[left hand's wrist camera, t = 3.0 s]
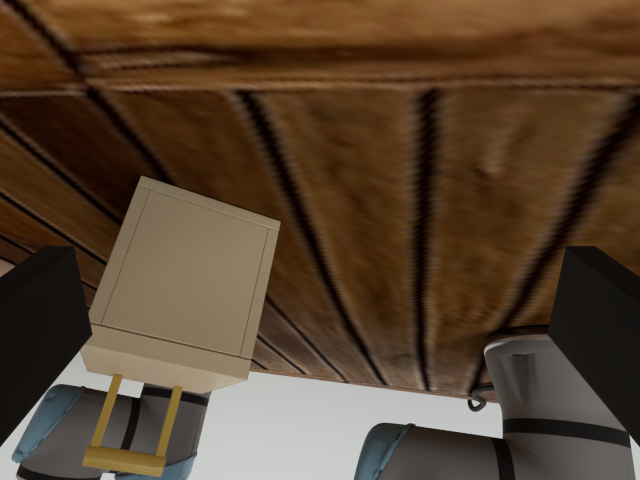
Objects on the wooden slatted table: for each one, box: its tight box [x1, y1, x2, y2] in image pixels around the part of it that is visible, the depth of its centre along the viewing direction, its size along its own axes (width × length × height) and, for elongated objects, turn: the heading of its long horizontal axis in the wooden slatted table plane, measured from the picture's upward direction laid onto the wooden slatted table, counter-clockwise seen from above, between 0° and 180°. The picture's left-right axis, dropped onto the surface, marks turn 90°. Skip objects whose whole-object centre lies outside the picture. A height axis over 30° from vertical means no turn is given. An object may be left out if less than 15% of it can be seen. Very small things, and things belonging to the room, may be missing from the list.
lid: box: [80, 323, 251, 477], centre depth 33 cm, size 16×10×8 cm, turn 156°
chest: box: [88, 176, 281, 360], centre depth 37 cm, size 15×10×10 cm
